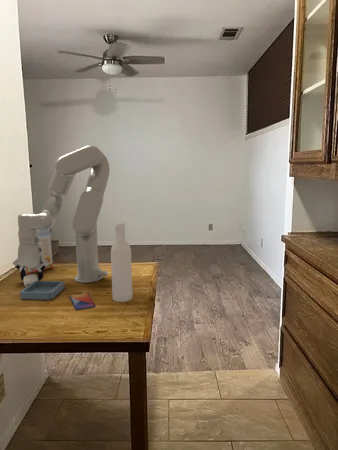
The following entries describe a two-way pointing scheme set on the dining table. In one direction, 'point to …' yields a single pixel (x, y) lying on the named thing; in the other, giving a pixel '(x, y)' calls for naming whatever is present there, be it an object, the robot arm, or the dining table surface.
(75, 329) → the dining table surface
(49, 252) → the cracker box
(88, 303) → the smartphone
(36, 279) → the garlic
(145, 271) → the dining table surface
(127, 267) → the bottle
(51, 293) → the tray
